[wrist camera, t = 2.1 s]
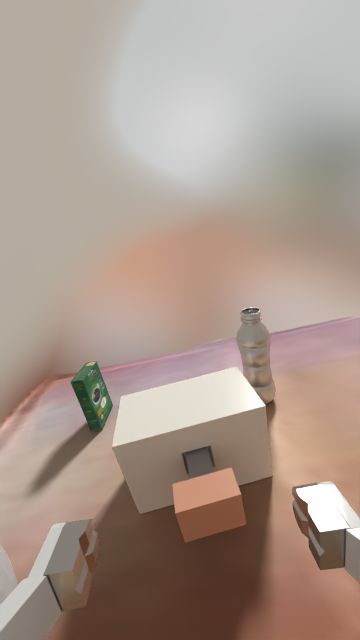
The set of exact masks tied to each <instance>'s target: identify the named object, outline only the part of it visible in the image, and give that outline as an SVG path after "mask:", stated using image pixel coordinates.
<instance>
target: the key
mask: <svg viewBox="0 0 360 640" xmlns="http://www.w3.org/2000/svg"><path fill="white" fill-rule="evenodd" d="M185 454H186V459H187V465H188V471H189V476H190V479H189V480H185V481H181V482H178V483H174V484H172V485H173V495H174V506H175V514H176V517H177V520H178V523H179V526H180V529H181V532H182V535H183V538H184V541H185V543H186V542H190V541H193V540H196V539H200V538H203V537H206V536H210V535H213V534H216V533H220V532H223V531H226V530H230V529H233V528H236V527H240V526H243V525H246V519H245V513H244V507H243V501H242V495H241V492H240V489H239V487H238V484H237V481H236V479H235V476H234V473H233V471H232V468H227V469H224V470H220V471H217V472H214V469H213V466H212V463H211V459H210V456H209V452H208V449H207V446H206V447H203V448H199V449H195V450H192V451H188V452H185Z"/></svg>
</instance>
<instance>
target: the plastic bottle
mask: <svg viewBox="0 0 360 640" xmlns="http://www.w3.org/2000/svg"><path fill="white" fill-rule="evenodd" d="M261 320H262V316H261V310H260V309H259V308H246V309H243V310H241V322H243V323H242V325H241V326H240V328H239V330H238V332H237V336H236V339H237V343H238V346H239V350H240V353H241V358H242V363H243V374H244V377H245V378H246V379H247V381H248V382H249V384H250V385H251V386H252V388H253V389H254V390H255V392H256V393H257V395H258V396H259V397H260V399H261V400H262V401H263V403H264V404H268V403H270V402H271V401H272V400H273V399H274V397H275V391H276V389H275V384H274V381H273V378H272V373H271V368H270V343H271V342H270V341H271V335H270V333H269V330H268V329H267V328H266V326H265V325H264V324H263V323H262V322H261Z"/></svg>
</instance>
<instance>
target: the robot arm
mask: <svg viewBox="0 0 360 640" xmlns="http://www.w3.org/2000/svg"><path fill="white" fill-rule="evenodd" d="M292 495H293V496H294V498H295V500H294V501H293V511H294V515H295V518H296V521H297V523H298V526H299V528H300V530H301V532H302V533H303V534H304V535H305V536H306V537H307V538H309V548H310V551H311V553H312V555H313V557H314V559H315V561H316V563H317V565H318V567H319V569H320V570H326V569H335V568H343V567H345V570H346V571H347V572H348V573H349V574H350V575H351V576H353V577H354V578H355V579H356V580H357V581H358V582H359V583H360V518H359V517H358V515H357V514H356V513H355V512H354V510H353V509H352V508H351V506H350V505H349V504H348V502H347V501H346V500H345V498H344V497H343V496H342V494H341V493H340V492H339V490H338V489H337V488H336V486H335V485H334V484H333V483H332V482H331V481H327V482H321V483H313V484H307V485H301V486H296V487H293V488H292ZM94 527H95V523H94V520H93V519H87V520H80V521H72V522H64V523H58V524H54V525H53V526H52V527H51V529H50V530H49V533H48V535H47V537H46V539H45V541H44V543H43V546H42V548H41V550H40V552H39V554H38V556H37V559H36V561H35V563H34V565H33V567H32V569H31V571H30V574H29V576H28V578H27V579H23V580H22V581H21V582H20V583H19V585H18V586H17V587H16V588H15V589H14V590H13V591H12V592H11V593H10V595H9V596H8V597H7V598H6V599H5V600H4V601H3V602H2V603H1V605H0V640H46V638H47V636H48V635H49V633H50V632H51V630H52V628H53V627H54V625H55V624H56V622H57V620H58V619H59V617H60V616H61V614H62V612H61V611H66V610H71V609H76V608H82V607H86V604H87V600H88V597H89V593H90V589H91V585H92V577H91V574H90V573H91V572H92V570H93V569H94V568H95V566H96V565H97V561H98V556H99V548H100V541H99V535H98V533H97V532H96V531H94Z"/></svg>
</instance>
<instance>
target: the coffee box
mask: <svg viewBox="0 0 360 640" xmlns="http://www.w3.org/2000/svg"><path fill="white" fill-rule="evenodd" d="M71 384H72V387H73V389H74V391H75V394H76V396H77V398H78V401H79V403H80V405H81V408H82V410H83V413H84V415H85V417H86V420H87V422H88V425H89V427H90V429H91V431H99V430H102V429H103V426H104V424H105V422H106V419H107V417H108V415H109V413H110V411H111V408H112V406H113V405H112V401H111V399H110V396H109V394H108V391H107V388H106V386H105V383H104V380H103V378H102V375H101V372H100V370H99V367H98V364H97V361H94V362H88V363H86V364H85V365H84V366H83V368H82V369H81V370H80V371H79V372H78V374H77V375H76V376H75V377H74V378H73V379H72V381H71Z"/></svg>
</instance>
